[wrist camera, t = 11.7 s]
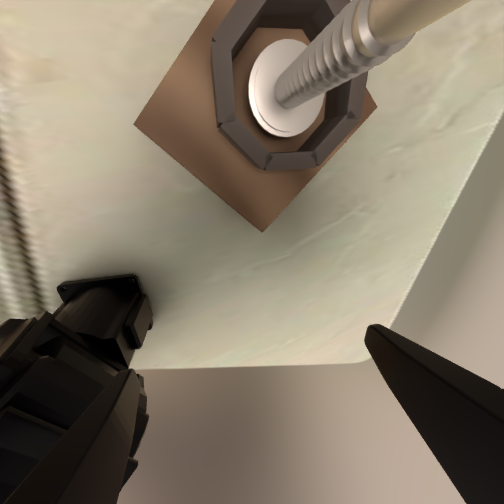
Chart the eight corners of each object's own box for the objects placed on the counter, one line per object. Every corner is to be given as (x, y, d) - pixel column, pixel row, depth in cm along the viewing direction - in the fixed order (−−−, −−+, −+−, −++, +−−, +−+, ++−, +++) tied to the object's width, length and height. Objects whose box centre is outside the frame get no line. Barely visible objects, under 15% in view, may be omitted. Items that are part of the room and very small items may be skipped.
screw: (259, 150, 16) (231, 74, 14) (318, 121, 16) (299, 39, 14) (392, 147, 4) (350, -328, 2) (610, 41, 4) (794, -570, 2)
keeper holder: (259, 228, 20) (271, 246, 16) (138, 126, 15) (115, 118, 11) (366, 109, 17) (410, 98, 14) (263, -62, 12) (286, -154, 9)
